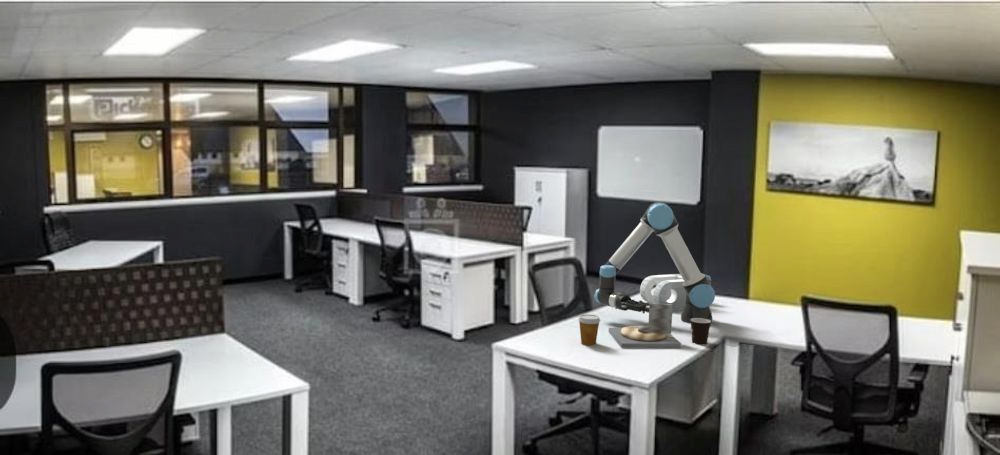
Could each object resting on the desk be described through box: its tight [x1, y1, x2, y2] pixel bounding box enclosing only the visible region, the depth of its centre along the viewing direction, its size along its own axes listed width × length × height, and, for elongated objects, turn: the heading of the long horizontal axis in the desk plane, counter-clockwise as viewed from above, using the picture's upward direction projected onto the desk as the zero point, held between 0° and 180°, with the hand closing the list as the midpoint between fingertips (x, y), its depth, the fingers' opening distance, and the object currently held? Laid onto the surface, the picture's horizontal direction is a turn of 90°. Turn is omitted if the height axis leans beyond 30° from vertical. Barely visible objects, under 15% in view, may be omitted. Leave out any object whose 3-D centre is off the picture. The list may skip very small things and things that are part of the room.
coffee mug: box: [690, 318, 711, 346], centre depth 318 cm, size 12×9×10 cm
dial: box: [621, 302, 673, 341], centre depth 319 cm, size 22×20×14 cm
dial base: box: [608, 327, 682, 349], centre depth 320 cm, size 26×26×2 cm
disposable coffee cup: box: [578, 313, 601, 346], centre depth 312 cm, size 10×10×12 cm
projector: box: [639, 273, 686, 311], centre depth 390 cm, size 35×19×15 cm, turn 110°
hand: (657, 311), depth 322 cm, fingers closed
